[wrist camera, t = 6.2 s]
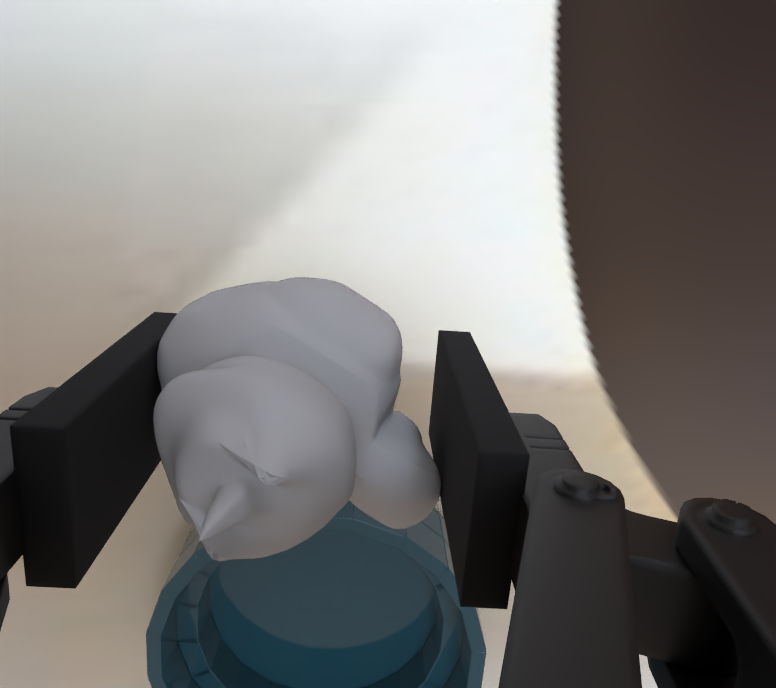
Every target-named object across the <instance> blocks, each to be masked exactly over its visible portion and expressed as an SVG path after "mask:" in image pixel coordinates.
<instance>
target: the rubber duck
mask: <svg viewBox="0 0 776 688" xmlns="http://www.w3.org/2000/svg"><path fill="white" fill-rule="evenodd" d="M401 360H402V339H401V334H400V331H399V329H398V327H397V325H396V323H395V321H394V320H393V318H392V317H391V316H390V315H389V314H388V313H386V312H385V311H384V310H382V309H381V308H379V307H378V306H376V305H375V304H373V303H372V302H370V301H369V300H367V299H366V298H364V297H363V296H361V295H360V294H358V293H357V292H355V291H354V290H352V289H350V288H349V287H347V286H345V285H343V284H341V283H338V282H335V281H330V280H326V279H318V278H305V277H302V278H289V279H285V280H281V281H278V282H272V281H267V282H257V283H251V284H245V285H240V286H235V287H230V288H225V289H221V290H217V291H213V292H211V293H208V294H207V295H205V296H203V297H201V298H199V299H197V300H195V301H193V302H191V303H190V304H188V305H187V306H185V307H184V308H183V309H182V310H181V311H180V312H179V313H178V314H177V315H176V316H175V317H174V318H173V320H172V321H171V323H170V325H169V326H168V328H167V329H166V331H165V333H164V335H163V336H162V338H161V341H160V343H159V347H158V352H157V369H158V375H159V380H160V384H161V389H162V391H161V393H160V394H159V396H158V398H157V400H156V404H155V407H154V416H153V422H154V432H155V438H156V443H157V447H158V451H159V454H160V457H161V461H162V464H163V466H164V469H165V471H166V474H167V477H168V480H169V483H170V486H171V489H172V491H173V494H174V497H175V499H176V503H177V506H178V509H179V511H180V512H181V514H182V516H183V518H184V519H185V520H186V521H187V522H188V524H189V525H190V526H191V527H192V528H193V529H194V530H195V531H196V532H197V534H198V536H199V537H200V538H199V541H202V543H203V544H204V547H205V549H206V551H207V553H208V554H209V555H210V556H211V558H212V559H213V560H218V561H226V560H232V559H255V558H262V557H267V556H270V555H273V554H276V553H279V552H282V551H286V550H288V549H290V548H292V547H294V546H296V545H297V544H299V543H301V542H303V541H305V540H307V539H308V538H310V537H311V536H312V535H314V534H315V533H316V532H317V531H319V530H320V529H321V528H323V527H324V526H325V525H326V524H327V523H328V522H329V521H330V520H331V519H332V518H333V517H334V516H335V515H336V514H337V512H338V511H339V510H340V509H342V508H343V507H344V506H345V505H346V504H347V502H348V501H349V500H350V501H351V502H352V503H353V504H354V505H355V506H356V507H357V508H359V509H360V510H361V511H363V512H364V513H366V514H367V515H369V516H370V517H372V518H374V519H375V520H377V521H379V522H380V523H382V524H384V525H386V526H388V527H390V528H393V529H405V528H408V527H411V526H413V525H416V524H418V523H419V522H421V521H422V520H424V519H425V518H426V517H427V516H428V515H429V514H430V513H431V512H432V511H433V509H434V507H435V506H436V504H437V502H438V499H439V496H440V490H441V479H440V474H439V471H438V468H437V466H436V464H435V462H434V460H433V459H432V457H431V456H430V454H429V453H428V451H427V450H426V448H425V446H424V445H423V443H422V437H421V434H420V431H419V429H418V427H417V426H416V425H415V424H414V423H413V421H412V420H410V419H409V418H408V417H407V416H405V415H404V414H402V413H400V412H398V411H396V410H394V409H393V407H394V403H395V400H396V397H397V394H398V390H399V387H400V381H401V378H400V366H401Z"/></svg>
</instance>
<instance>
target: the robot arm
mask: <svg viewBox="0 0 776 688" xmlns="http://www.w3.org/2000/svg"><path fill="white" fill-rule="evenodd" d="M176 315H177V313H161V312H154V313H153V314H151V315H150V316H149V317H148V318H146V319H145V320H144V321H142V322H141V323H140V324H139V325H137V326H136V327H135V328H134V329H132V330H131V331H130V332H128V333H127V334H126V335H125V336H123V337H122V338H121V339H120V340H118V341H117V342H116V343H114V344H113V345H112V346H111V347H109V348H108V349H107V350H106V351H104V352H103V353H102V354H100V355H99V356H98V357H97V358H95V359H94V360H93V361H92V362H90V363H89V364H88V365H86V366H85V367H84V368H83V369H81V370H80V371H79V372H78V373H76V374H75V375H74V376H72V377H71V378H70V379H69V380H67V381H66V382H65V383H64V384H62V385H61V386H60V387H58V388H53V387H48V388H45V389H42V390H40V391H37V392H34V393H32V394H29V395H26V396H24V397H23V398H21V399H20V400H19V401H17V402H16V403H15V404H13V405H12V406H10V407H9V410H5V411H4V412H2V413H1V414H0V630H1V627H2V623H3V620H4V617H5V613H6V610H7V607H8V603H9V600H10V597H9V584H8V576H7V572H8V571H9V570H10V569H11V568H12V566H13V565H14V564H15V563H16V562H17V561H18V559H19V558H20V557H21V556H22V555H23V559H24V569H25V578H26V586H36V587H57V588H76V587H77V586H78V584H79V583H80V581H81V580H82V578H83V577H84V575H85V574H86V572H87V571H88V569H89V568H90V566H91V565H92V563H93V562H94V560H95V559H96V557H97V556H98V554H99V553H100V551H101V550H102V548H103V547H104V545H105V543H106V542H107V540H108V539H109V537H110V536H111V534H112V533H113V531H114V530H115V528H116V527H117V525H118V524H119V522H120V521H121V519H122V518H123V516H124V515H125V513H126V512H127V510H128V509H129V507H130V506H131V504H132V503H133V501H134V500H135V498H136V497H137V495H138V494H139V492H140V491H141V489H142V488H143V486H144V485H145V483H146V482H147V480H148V479H149V477H150V476H151V474H152V473H153V471H154V470H155V468H156V467H157V465H158V464H159V462H160V461H161V457H160V454H159V451H158V447H157V443H156V438H155V432H154V422H153V416H154V407H155V404H156V400H157V398H158V396H159V394H160V393H161V391H162V389H161V384H160V380H159V375H158V369H157V352H158V347H159V343H160V341H161V338H162V336H163V335H164V333H165V331H166V329H167V328H168V326H169V325H170V323H171V321H172V320H173V318H174V317H175V316H176ZM429 437H430V442H431V448H432V454H433V459H434V462H435V464H436V466H437V468H438V471H439V474H440V479H441V490H440V498H441V503H442V509H443V514H444V520H445V525H446V531H447V536H448V542H449V547H450V553H451V558H452V564H453V569H454V575H455V580H456V586H457V591H458V597H459V602H460V607H477V608H498V609H507V606H508V600H509V593H510V586H511V579H512V582H513V585H514V588H515V597H514V602H513V608H512V614H511V620H510V625H509V631H508V637H507V642H506V648H505V654H504V659H503V665H502V671H501V676H500V682H499V688H642V683H641V673H640V662H639V654H641V655H644V656H647V658H648V664H649V668H650V670H651V673H652V675H653V677H654V680H655V682H656V684H657V686H658V688H776V525H775V524H774V523H773V522H771V521H770V520H769V519H768V518H767V517H765V516H764V515H762V514H760V513H758V512H756V511H754V510H752V509H750V507H748V506H747V505H744V504H741V503H738V504H737V503H736V502H735V501H732V500H728V499H722V500H720V499H714V498H694V499H691V500H688V501H685V502H684V504H683V506H682V507H681V509H680V513H679V517H678V522H672V521H668V520H663V519H659V518H654V517H650V516H646V515H642V514H638V513H635V512H632V511H629V510H627V509H625V502H624V497H623V495H622V493H621V491H620V490H619V489H618V488H617V487H616V486H614V485H613V484H612V483H611V482H609V481H607V480H605V479H603V478H601V477H599V476H597V475H594V474H590V473H587V472H584V471H583V469H582V468H581V466H580V464H579V463H578V461H577V460H576V458H575V457H574V455H573V453H572V452H571V450H569V447H568V445H567V444H566V442H565V441H564V440H563V437H562V436H561V434H560V433H559V431H558V429H557V428H556V426H555V425H553V424H552V423H551V422H549V421H548V420H546V419H545V418H543V417H542V416H540V415H539V414H524V413H509V412H508V410H507V407H506V405H505V403H504V401H503V399H502V397H501V395H500V393H499V391H498V389H497V387H496V385H495V383H494V381H493V379H492V377H491V375H490V373H489V371H488V369H487V367H486V364H485V362H484V360H483V358H482V356H481V354H480V352H479V350H478V348H477V346H476V344H475V342H474V340H473V338H472V336H471V334H470V332H458V331H442V330H439V334H438V344H437V354H436V364H435V374H434V385H433V395H432V405H431V415H430V425H429Z"/></svg>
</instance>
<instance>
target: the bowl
mask: <svg viewBox="0 0 776 688" xmlns="http://www.w3.org/2000/svg"><path fill="white" fill-rule="evenodd" d="M199 538H200V537H199V536H198V534H197V532H196V531H195V530H194V529H193V530H192V531H191V532H190V534H189V536H188V538H187V540H186V542H185V544H184V546H183V548H182V550H181V552H180V554H179V556H178V558H177V560H176V562H175V564H174V566H173V568H172V570H171V572H170V574H169V576H168V578H167V581H166V583H165V585H164V587H163V589H162V591H161V593H160V596H159V599H158V601H157V604H156V607H155V610H154V612H153V615H152V618H151V621H150V623H149V626H148V629H147V633H146V644H147V671H148V679H149V681H150V684H151V686H152V688H481V686H482V679H483V672H484V665H485V658H486V646H485V641H484V636H483V632H482V627H481V622H480V617H479V613H478V608H477V607H460V602H459V597H458V591H457V586H456V580H455V575H454V569H453V564H452V558H451V553H450V547H449V542H448V536H447V531H446V525H445V521H444V519H443V518H442V516H441V515H440V514H438V512H436V511H435V510H434V509H433V511H432V512H431V513H430V514H429V515H428V516H427V517H426V518H425V519H424V520H422V521H421V522H419V523H418V524H416V525H413V526H411V527H408V528H405V529H393V528H390V527H388V526H386V525H384V524H382V523H380V522H379V521H377V520H375V519H374V518H372V517H370V516H369V515H367V514H366V513H364V512H363V511H361V510H360V509H359V508H357V507H356V506H355V505H354V504H353V503H352V502H351V501H350V500H349V501H348V502H347V504H346V505H345V506H344V507H343V508H342V509H340V510H339V511H338V512H337V514H336V515H335V516H334V517H333V518H332V519H331V520H330V521H329V522H328V523H327V524H326V525H325V526H324V527H323V528H321V529H320V530H319V531H317V532H316V533H315V534H314V535H312V536H311V537H310V538H308V539H307V540H305V541H303V542H301V543H299V544H297V545H296V546H294V547H292V548H290V549H288V550H286V551H282V552H279V553H276V554H273V555H270V556H267V557H262V558H255V559H232V560H226V561H218V560H213V559H212V558H211V556H210V555H209V554H208V553H207V551H206V549H205V547H204V544H203V543H202V541H199Z"/></svg>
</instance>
